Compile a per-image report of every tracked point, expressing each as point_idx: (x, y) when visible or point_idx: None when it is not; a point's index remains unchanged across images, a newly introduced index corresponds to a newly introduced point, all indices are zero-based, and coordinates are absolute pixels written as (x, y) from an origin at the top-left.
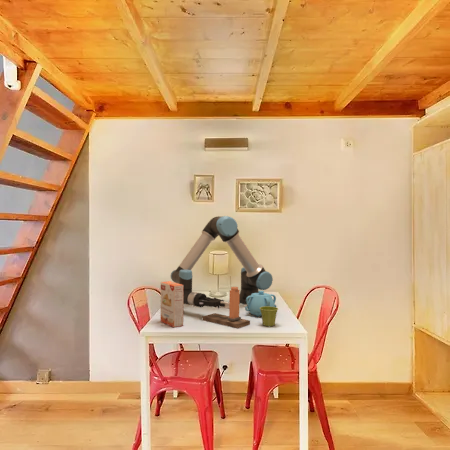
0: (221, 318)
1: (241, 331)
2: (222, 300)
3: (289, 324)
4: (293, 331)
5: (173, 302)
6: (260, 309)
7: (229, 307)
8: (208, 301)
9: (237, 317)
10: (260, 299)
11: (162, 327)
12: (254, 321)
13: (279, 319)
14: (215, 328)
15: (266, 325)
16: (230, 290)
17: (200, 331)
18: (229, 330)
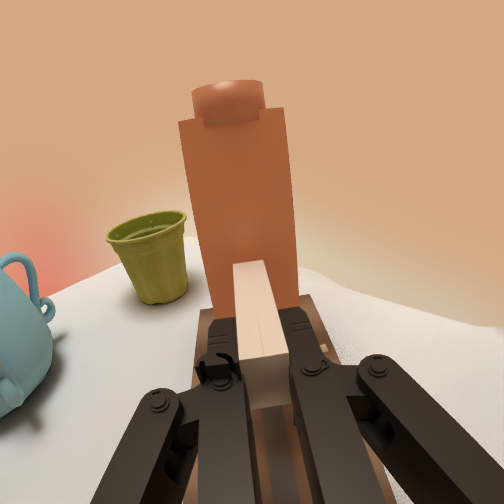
0: None
1: (325, 284)
2: (224, 355)
3: (121, 272)
4: (190, 242)
5: None
6: (166, 234)
7: (297, 270)
8: (472, 464)
9: None
10: (7, 277)
11: None
12: (136, 345)
13: (68, 309)
14: (418, 351)
15: (187, 282)
16: (277, 108)
17: (497, 335)
18: (365, 307)
